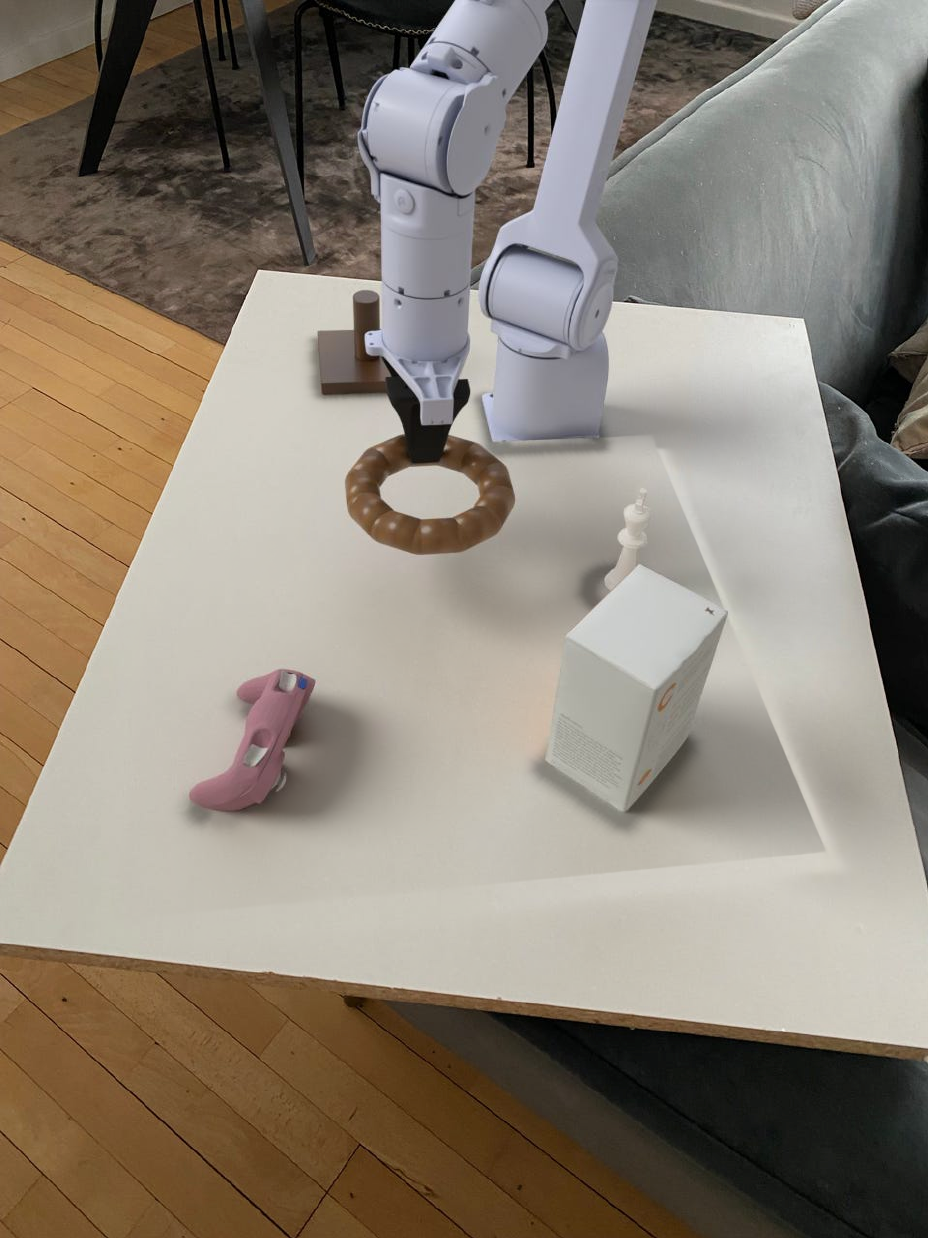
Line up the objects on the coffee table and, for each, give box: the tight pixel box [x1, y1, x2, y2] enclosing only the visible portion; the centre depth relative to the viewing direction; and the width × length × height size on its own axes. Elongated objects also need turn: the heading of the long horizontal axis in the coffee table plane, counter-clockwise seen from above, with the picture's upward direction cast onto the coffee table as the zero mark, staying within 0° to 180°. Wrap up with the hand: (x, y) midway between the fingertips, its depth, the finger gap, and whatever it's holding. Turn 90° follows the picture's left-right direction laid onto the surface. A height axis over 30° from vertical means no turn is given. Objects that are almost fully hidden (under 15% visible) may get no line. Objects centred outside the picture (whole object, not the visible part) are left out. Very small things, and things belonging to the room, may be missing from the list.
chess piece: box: [604, 487, 653, 592], centre depth 76 cm, size 5×5×10 cm
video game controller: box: [188, 668, 316, 812], centre depth 65 cm, size 10×5×7 cm, turn 168°
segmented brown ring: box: [344, 433, 516, 556], centre depth 74 cm, size 12×12×2 cm
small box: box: [544, 563, 729, 813], centre depth 64 cm, size 8×6×13 cm
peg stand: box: [317, 289, 391, 395], centre depth 96 cm, size 9×9×7 cm
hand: (422, 447), depth 77 cm, fingers closed on segmented brown ring, 2 cm apart
